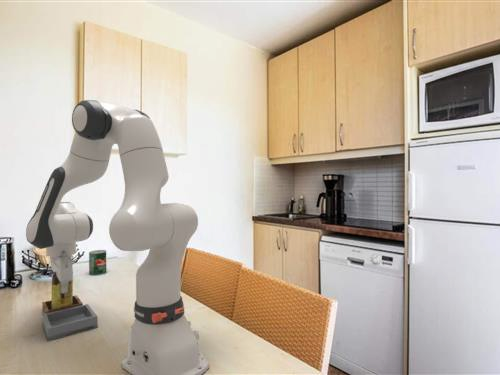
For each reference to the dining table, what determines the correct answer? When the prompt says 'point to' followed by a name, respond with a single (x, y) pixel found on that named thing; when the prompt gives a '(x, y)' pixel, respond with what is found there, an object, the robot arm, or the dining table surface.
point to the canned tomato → (97, 262)
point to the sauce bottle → (61, 294)
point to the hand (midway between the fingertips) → (61, 288)
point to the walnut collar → (47, 307)
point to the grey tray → (69, 321)
